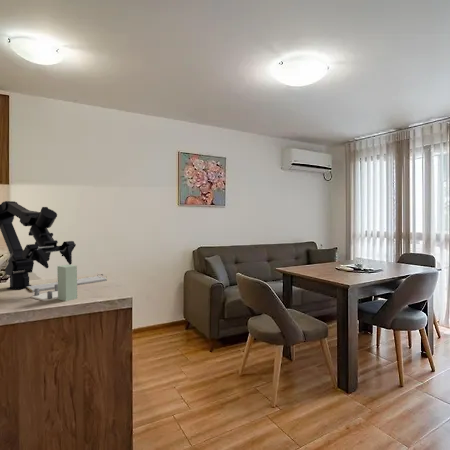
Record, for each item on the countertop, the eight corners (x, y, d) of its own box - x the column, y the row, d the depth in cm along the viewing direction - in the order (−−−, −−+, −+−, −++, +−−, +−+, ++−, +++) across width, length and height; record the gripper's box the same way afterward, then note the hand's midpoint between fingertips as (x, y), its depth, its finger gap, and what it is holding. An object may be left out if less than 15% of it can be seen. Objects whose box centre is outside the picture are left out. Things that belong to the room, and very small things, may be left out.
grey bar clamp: (25, 288, 133) (32, 294, 124) (25, 282, 132) (32, 287, 124) (96, 278, 154) (107, 281, 146) (96, 272, 154) (106, 275, 146)
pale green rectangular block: (58, 299, 114) (57, 266, 114) (69, 296, 118) (68, 264, 118) (66, 301, 112) (65, 267, 111) (77, 298, 116) (76, 265, 115)
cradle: (30, 297, 116) (30, 289, 116) (60, 290, 127) (60, 283, 127) (45, 301, 111) (45, 293, 111) (75, 293, 122) (75, 286, 122)
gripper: (56, 247, 133) (73, 274, 128) (9, 252, 117) (26, 283, 111) (67, 229, 129) (84, 257, 124) (20, 232, 112) (37, 264, 107)
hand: (59, 265), depth 117 cm, fingers open, 9 cm apart
